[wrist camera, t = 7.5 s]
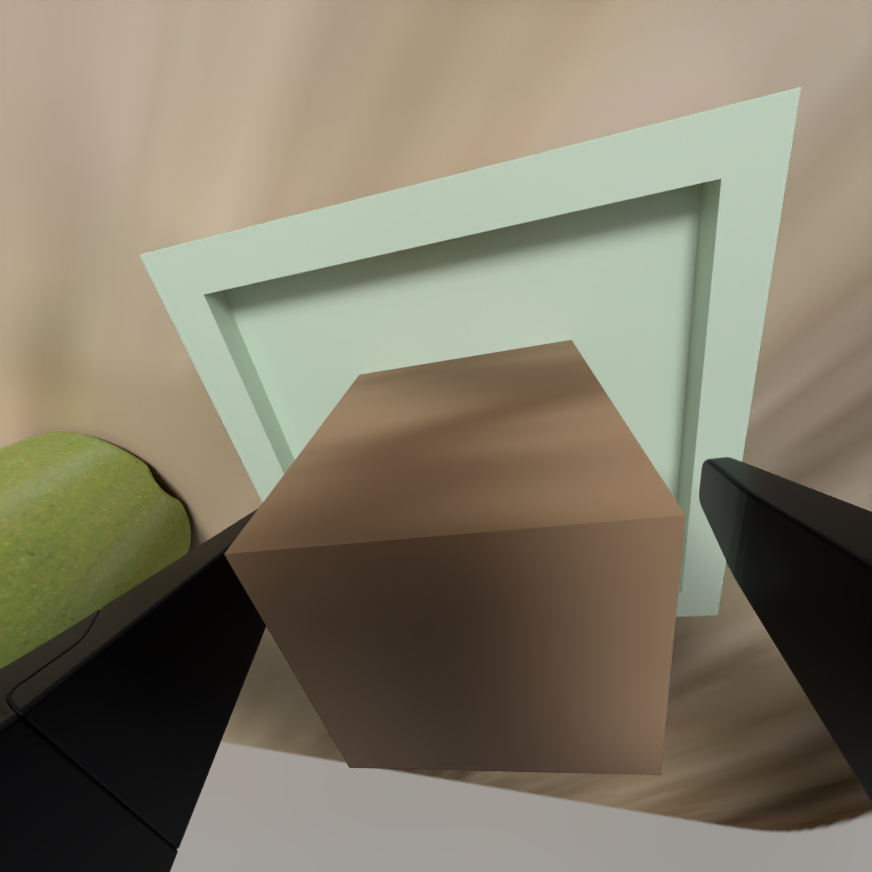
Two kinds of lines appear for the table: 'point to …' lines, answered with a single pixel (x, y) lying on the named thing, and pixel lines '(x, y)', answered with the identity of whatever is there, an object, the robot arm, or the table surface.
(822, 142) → the table surface
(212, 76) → the table surface
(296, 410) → the green tray
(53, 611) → the plant pot
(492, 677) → the walnut block
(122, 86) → the table surface
